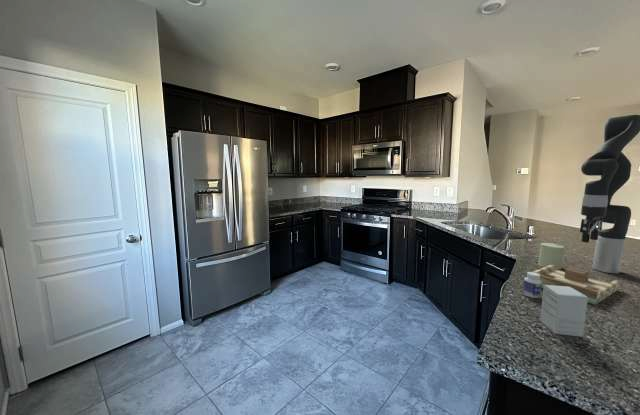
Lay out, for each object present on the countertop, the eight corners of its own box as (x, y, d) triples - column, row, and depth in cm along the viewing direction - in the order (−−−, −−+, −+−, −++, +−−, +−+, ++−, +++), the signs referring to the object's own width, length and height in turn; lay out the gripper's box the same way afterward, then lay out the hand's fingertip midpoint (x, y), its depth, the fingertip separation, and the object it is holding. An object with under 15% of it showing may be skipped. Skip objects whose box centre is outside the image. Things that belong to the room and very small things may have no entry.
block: (569, 275, 116) (570, 267, 115) (588, 280, 110) (589, 271, 110) (564, 277, 113) (565, 269, 112) (582, 282, 107) (584, 273, 107)
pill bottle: (536, 299, 97) (539, 277, 96) (520, 294, 101) (522, 272, 100) (541, 296, 100) (544, 274, 99) (525, 291, 104) (528, 270, 103)
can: (566, 270, 127) (569, 247, 126) (545, 268, 129) (548, 246, 128) (553, 264, 136) (556, 242, 135) (534, 262, 138) (536, 241, 137)
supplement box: (565, 323, 81) (570, 286, 80) (583, 337, 74) (589, 297, 72) (538, 320, 83) (543, 283, 81) (553, 334, 76) (559, 294, 74)
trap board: (550, 272, 125) (552, 262, 124) (617, 289, 105) (619, 278, 105) (525, 282, 112) (526, 271, 112) (595, 304, 93) (597, 291, 92)
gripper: (589, 203, 117) (585, 237, 119) (575, 205, 111) (570, 240, 113) (613, 205, 111) (608, 240, 113) (599, 207, 105) (594, 245, 107)
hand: (589, 240), depth 113 cm, fingers open, 8 cm apart
